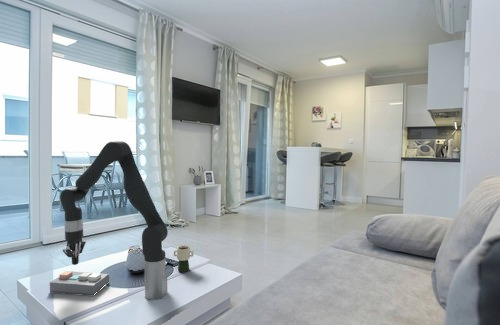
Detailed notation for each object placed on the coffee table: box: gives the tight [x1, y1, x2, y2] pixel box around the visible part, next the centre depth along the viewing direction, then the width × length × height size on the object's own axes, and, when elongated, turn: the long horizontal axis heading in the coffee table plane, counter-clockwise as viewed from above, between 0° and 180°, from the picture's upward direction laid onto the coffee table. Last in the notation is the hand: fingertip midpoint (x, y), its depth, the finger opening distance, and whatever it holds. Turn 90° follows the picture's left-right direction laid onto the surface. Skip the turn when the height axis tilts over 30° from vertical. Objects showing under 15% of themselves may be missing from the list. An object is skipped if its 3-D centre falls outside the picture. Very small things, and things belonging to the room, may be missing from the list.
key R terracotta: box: [58, 271, 73, 280], centre depth 142 cm, size 4×4×4 cm
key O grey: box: [79, 272, 92, 281], centre depth 141 cm, size 4×4×4 cm
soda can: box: [127, 245, 142, 254], centre depth 164 cm, size 7×7×12 cm
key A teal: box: [69, 275, 80, 280], centre depth 141 cm, size 4×4×4 cm
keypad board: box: [49, 271, 110, 296], centre depth 141 cm, size 22×12×5 cm, turn 83°
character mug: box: [173, 245, 194, 273], centre depth 162 cm, size 11×7×13 cm, turn 90°
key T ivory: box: [88, 272, 101, 282], centre depth 140 cm, size 4×4×4 cm
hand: (75, 264), depth 141 cm, fingers closed
